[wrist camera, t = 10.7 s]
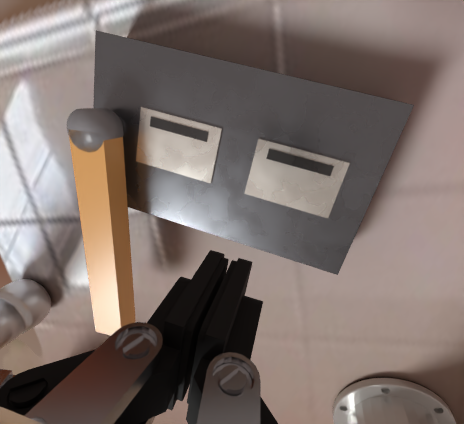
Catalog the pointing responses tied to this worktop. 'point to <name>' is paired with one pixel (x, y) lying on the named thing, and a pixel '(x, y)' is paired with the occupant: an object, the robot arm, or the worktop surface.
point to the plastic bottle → (21, 308)
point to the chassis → (246, 148)
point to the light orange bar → (103, 214)
